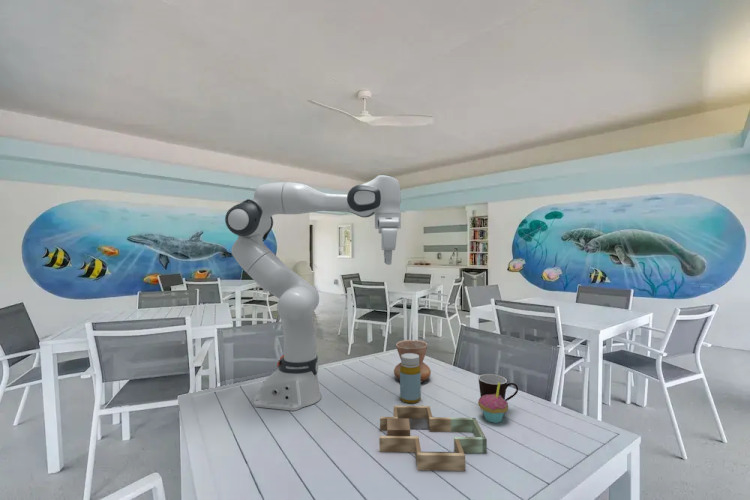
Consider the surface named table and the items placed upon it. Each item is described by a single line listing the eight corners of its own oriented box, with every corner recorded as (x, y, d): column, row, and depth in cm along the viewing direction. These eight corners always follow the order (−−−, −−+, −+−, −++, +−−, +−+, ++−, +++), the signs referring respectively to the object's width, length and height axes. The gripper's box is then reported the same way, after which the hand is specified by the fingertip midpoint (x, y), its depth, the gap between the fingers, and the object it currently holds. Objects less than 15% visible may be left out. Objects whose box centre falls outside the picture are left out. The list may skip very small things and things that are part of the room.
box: (378, 469, 79) (378, 454, 79) (380, 417, 104) (380, 405, 104) (495, 471, 79) (495, 456, 79) (469, 417, 104) (469, 406, 104)
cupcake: (507, 414, 105) (507, 376, 105) (508, 428, 97) (508, 386, 97) (478, 410, 108) (478, 373, 108) (477, 423, 100) (477, 382, 100)
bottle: (420, 395, 120) (420, 352, 120) (421, 404, 113) (420, 359, 113) (400, 394, 120) (400, 352, 120) (399, 403, 114) (399, 358, 114)
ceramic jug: (396, 370, 145) (395, 337, 144) (430, 371, 143) (430, 338, 142) (391, 388, 127) (391, 350, 127) (431, 390, 125) (430, 351, 125)
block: (387, 446, 89) (387, 429, 89) (387, 434, 95) (387, 418, 95) (410, 447, 89) (410, 430, 89) (408, 434, 95) (408, 418, 95)
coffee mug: (476, 413, 107) (475, 381, 107) (481, 402, 114) (481, 372, 114) (516, 421, 101) (515, 388, 101) (518, 409, 109) (518, 378, 109)
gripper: (377, 225, 126) (377, 262, 126) (379, 220, 106) (379, 265, 106) (394, 225, 126) (394, 262, 126) (399, 220, 106) (399, 265, 106)
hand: (387, 264), depth 116 cm, fingers open, 8 cm apart
